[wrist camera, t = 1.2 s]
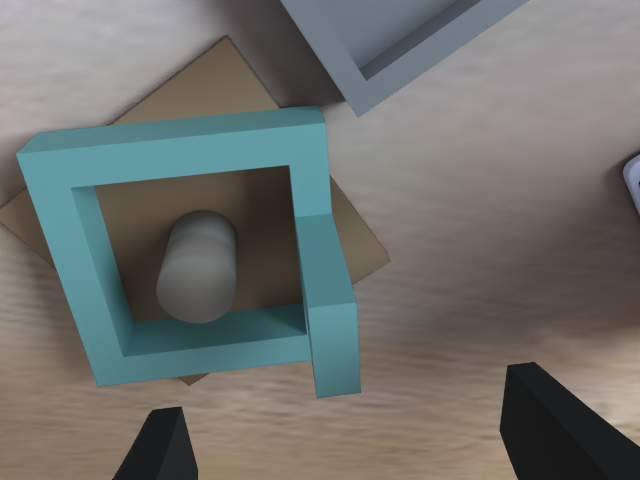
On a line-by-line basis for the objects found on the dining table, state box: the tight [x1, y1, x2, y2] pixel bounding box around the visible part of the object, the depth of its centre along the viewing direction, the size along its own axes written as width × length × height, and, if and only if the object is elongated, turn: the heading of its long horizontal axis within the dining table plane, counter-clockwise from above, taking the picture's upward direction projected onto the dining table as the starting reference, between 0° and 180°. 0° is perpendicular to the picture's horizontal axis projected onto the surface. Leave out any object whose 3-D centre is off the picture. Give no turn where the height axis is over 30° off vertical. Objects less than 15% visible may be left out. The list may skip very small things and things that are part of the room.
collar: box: [16, 105, 361, 398], centre depth 17 cm, size 9×9×7 cm
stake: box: [0, 35, 391, 386], centre depth 19 cm, size 10×10×4 cm
